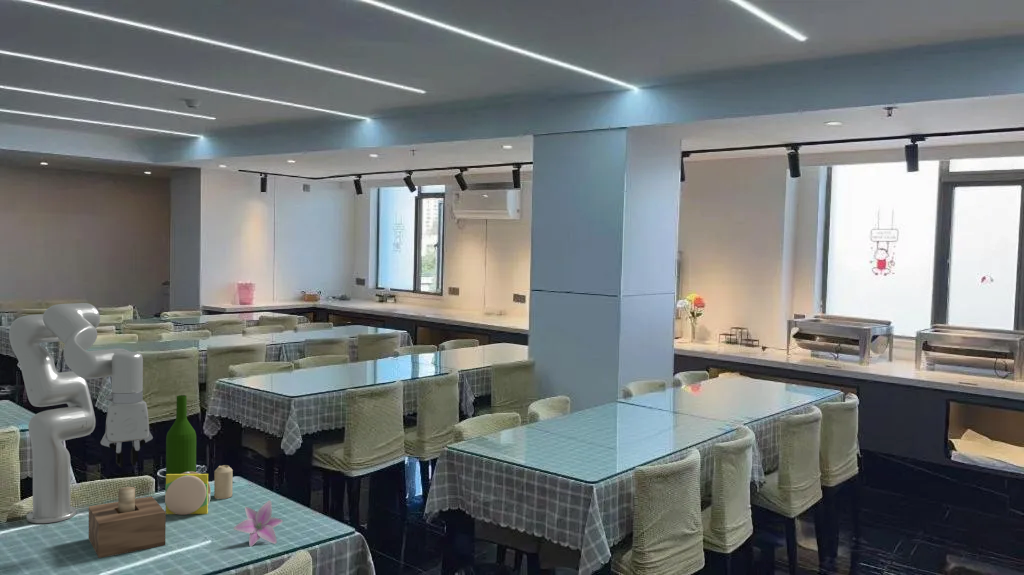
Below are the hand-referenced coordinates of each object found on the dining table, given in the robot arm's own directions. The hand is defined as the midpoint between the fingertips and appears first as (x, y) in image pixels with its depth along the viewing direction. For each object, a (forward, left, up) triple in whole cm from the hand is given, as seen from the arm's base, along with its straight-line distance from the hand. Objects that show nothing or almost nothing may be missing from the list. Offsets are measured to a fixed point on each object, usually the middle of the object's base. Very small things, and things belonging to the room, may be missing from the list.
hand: (126, 464), depth 206 cm
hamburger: (-16, +20, -21) cm, 33 cm away
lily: (+19, +30, -21) cm, 41 cm away
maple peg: (0, 0, -14) cm, 14 cm away
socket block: (0, 0, -21) cm, 21 cm away
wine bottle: (-33, +22, -21) cm, 45 cm away
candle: (-25, +33, -21) cm, 47 cm away
